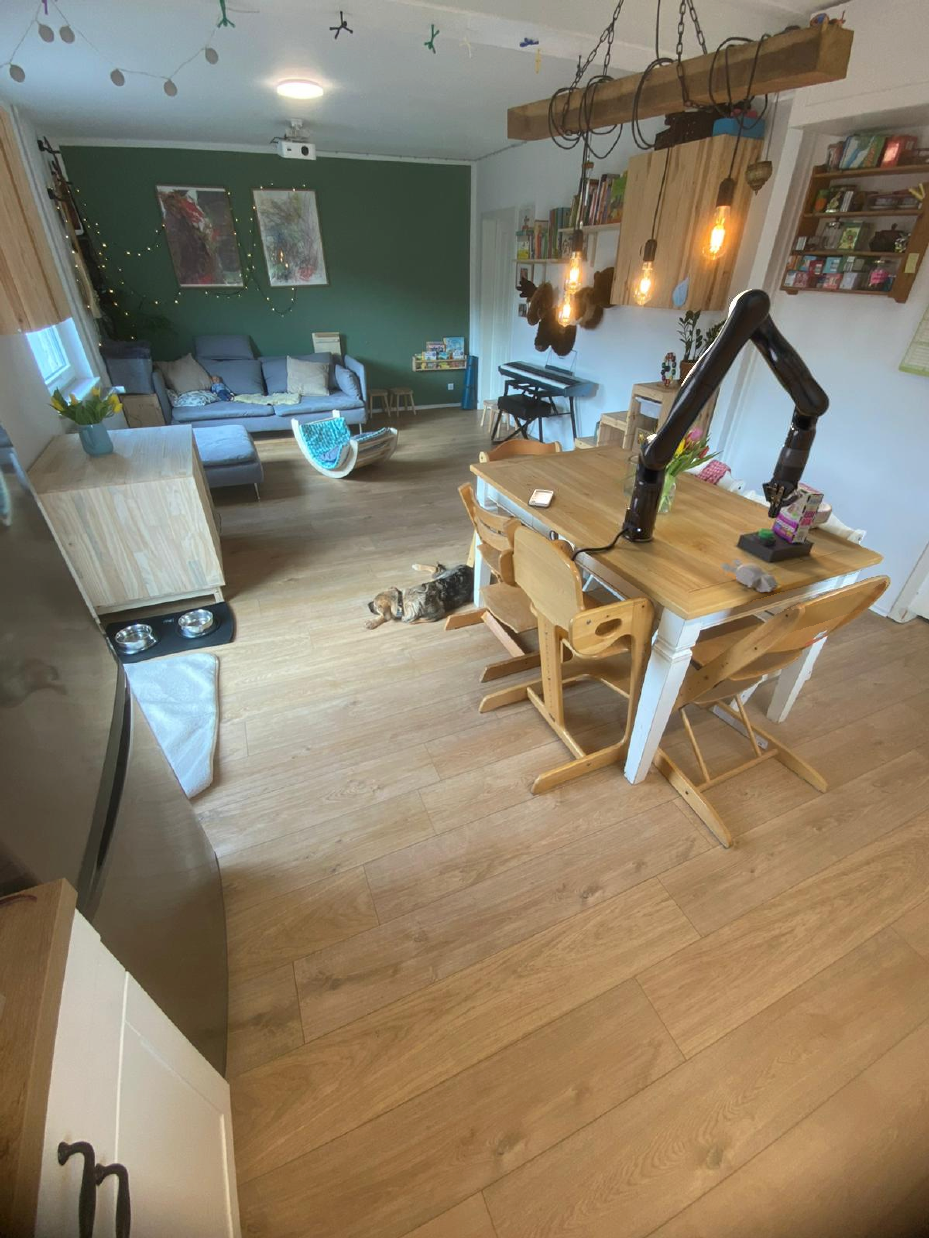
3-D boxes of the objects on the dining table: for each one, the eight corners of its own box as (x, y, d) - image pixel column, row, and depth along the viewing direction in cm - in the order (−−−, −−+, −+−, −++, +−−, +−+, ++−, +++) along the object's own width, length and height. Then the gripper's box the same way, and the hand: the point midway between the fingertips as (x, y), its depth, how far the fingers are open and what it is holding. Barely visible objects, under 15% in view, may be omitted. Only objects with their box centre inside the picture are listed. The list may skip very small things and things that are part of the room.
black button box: (767, 562, 166) (774, 545, 163) (735, 546, 176) (741, 529, 173) (809, 554, 173) (816, 537, 169) (775, 538, 183) (782, 522, 179)
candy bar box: (805, 543, 170) (825, 494, 161) (790, 544, 169) (810, 494, 160) (784, 529, 179) (802, 482, 170) (770, 529, 178) (788, 482, 170)
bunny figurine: (768, 585, 145) (721, 559, 155) (760, 600, 149) (715, 573, 158) (786, 577, 150) (740, 551, 159) (778, 591, 153) (733, 566, 162)
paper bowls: (795, 533, 187) (804, 512, 182) (769, 516, 199) (776, 496, 195) (834, 531, 189) (843, 510, 185) (805, 515, 202) (813, 495, 197)
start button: (765, 540, 167) (767, 534, 166) (755, 535, 170) (757, 529, 169) (774, 538, 169) (776, 532, 167) (764, 533, 172) (766, 527, 171)
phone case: (547, 507, 202) (553, 494, 214) (548, 503, 201) (553, 491, 214) (528, 504, 204) (535, 492, 216) (529, 501, 203) (535, 489, 215)
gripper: (764, 457, 160) (746, 511, 170) (802, 470, 150) (781, 527, 160) (781, 455, 163) (763, 508, 172) (820, 467, 153) (799, 523, 162)
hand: (772, 517), depth 166 cm, fingers closed
